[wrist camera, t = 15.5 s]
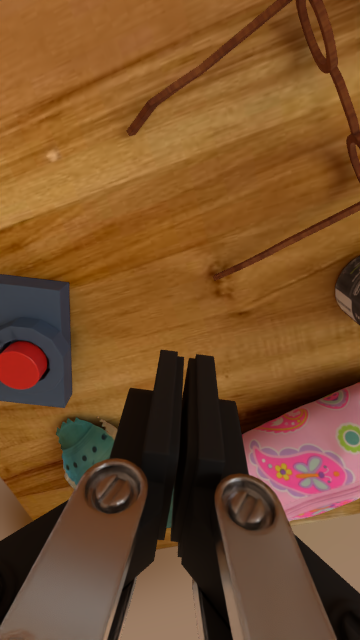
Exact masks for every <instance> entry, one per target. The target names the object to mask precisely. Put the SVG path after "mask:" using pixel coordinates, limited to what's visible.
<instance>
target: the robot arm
mask: <svg viewBox="0 0 360 640" xmlns="http://www.w3.org/2000/svg"><path fill="white" fill-rule="evenodd" d="M183 368H184V357H179V356H178V352H175V351H168V350H161V351H160V357H159V362H158V368H157V374H156V379H155V385H154V390H153V391H151V390H143V389H135V388H130V389H129V392H128V395H127V399H126V402H125V406H124V409H123V413H122V416H121V420H120V423H119V426H118V430H117V433H116V437H115V440H114V444H113V447H112V451H111V454H110V458H109V459H106V460H103V461H101V462H98V463H96V464H94V465H93V466H92V467H90V468H89V469H88V470H87V471H86V472H85V473H84V475H83V476H82V477H81V479H80V481H79V482H78V484H77V486H76V488H75V490H74V492H73V493H72V495H71V497H70V499H69V500H67V501H66V502H64V503H62V504H61V505H59V506H57V507H56V508H54V509H53V510H51V511H49V512H48V513H46V514H44V515H43V516H41V517H39V518H38V519H36V520H34V521H33V522H31V523H30V524H28V525H26V526H25V527H23V528H21V529H20V530H18V531H16V532H15V533H13V534H11V535H10V536H8V537H6V538H5V539H3V540H2V541H0V640H120V639H121V635H122V631H123V628H124V624H125V621H126V617H127V613H128V609H129V606H130V602H131V598H132V595H133V591H134V587H135V584H136V577H137V576H138V575H139V574H140V573H141V572H142V571H143V570H144V569H145V568H146V567H148V566H149V565H150V564H151V563H152V562H153V561H154V557H155V551H156V545H157V540H164V538H165V532H166V527H167V521H168V516H169V510H170V504H171V499H172V493H173V507H172V524H171V541H174V542H178V557H182V563H181V564H182V565H183V567H184V568H185V569H186V570H187V572H188V573H189V574H190V576H191V577H192V578H193V580H192V581H193V582H192V589H193V597H194V605H195V612H196V621H197V630H198V638H199V640H360V594H359V593H358V592H357V591H356V590H355V589H354V588H353V587H352V586H350V584H349V583H347V582H346V581H345V580H344V579H343V578H342V577H341V576H340V575H339V574H337V573H336V572H335V571H334V570H333V569H332V568H331V567H330V566H329V565H327V563H325V562H324V561H323V560H322V559H321V558H320V557H319V556H318V555H317V554H315V553H314V552H313V551H312V550H311V549H310V548H309V547H308V546H307V545H305V544H304V543H303V542H302V541H301V540H300V539H299V538H298V537H297V536H296V535H294V533H293V531H292V529H291V526H290V524H289V521H288V519H287V516H286V514H285V511H284V509H283V506H282V504H281V502H280V500H279V498H278V497H277V495H276V493H275V492H274V491H273V490H272V489H271V488H270V487H269V486H268V485H267V484H266V483H264V482H263V481H262V480H260V479H259V478H256V477H254V476H251V475H249V472H248V466H247V461H246V455H245V450H244V444H243V439H242V433H241V428H240V422H239V417H238V411H237V406H236V403H235V401H229V400H222V399H219V398H218V389H217V380H216V371H215V362H214V357H213V356H206V355H198V354H196V357H195V359H194V358H189V361H188V367H187V373H186V379H185V385H184V391H183V397H182V388H183ZM173 488H174V491H173Z"/></svg>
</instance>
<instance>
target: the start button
mask: <svg viewBox="0 0 360 640" xmlns="http://www.w3.org/2000/svg"><path fill="white" fill-rule="evenodd" d="M47 365H48V362H47V357H46V355H45V354H44V352H43V351H42V350H41V349H40V348H39V347H38V346H36V345H34V344H32V343H30V342H25V341H18V342H14V343H12V344H10V345H9V346H8V347H7V348H6V349H5V350H4V351H3V352H2V353H1V354H0V381H1V382H2V383H4V384H5V385H7V386H9V387H11V388H14V389H20V390H23V389H28V388H31V387H33V386H34V385H35V384H36V383H37V382H38V381H39V379H40V378H41V377H42V375H43V374H44V372H45V371H46V369H47Z"/></svg>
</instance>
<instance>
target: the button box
mask: <svg viewBox="0 0 360 640" xmlns="http://www.w3.org/2000/svg"><path fill="white" fill-rule="evenodd" d="M18 341H25V342H30V343H32V344H34V345H36V346H38V347H39V348H40V349H41V350H42V351H43V352H44V354H45V355H46V357H47V362H48V365H47V369H46V371H45V372H44V374H43V375H42V377H41V378H40V379H39V381H38V382H37V383H36V384H35V385H34V386H33V387H31V388H28V389H23V390H20V389H14V388H11V387H9V386H7V385H5V384H4V383H2V382H1V381H0V401H6V402H16V403H25V404H34V405H43V406H52V407H61V408H65V406H66V404H67V403H68V401H69V399H70V397H71V395H72V371H71V338H70V305H69V282H61V281H53V280H44V279H36V278H27V277H19V276H11V275H2V274H0V354H1V353H2V352H3V351H4V350H5V349H6V348H7V347H8V346H9V345H10V344H12V343H14V342H18Z"/></svg>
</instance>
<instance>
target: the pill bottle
mask: <svg viewBox="0 0 360 640" xmlns="http://www.w3.org/2000/svg"><path fill="white" fill-rule="evenodd" d="M335 296H336V300H337V303H338V305H339V306H340V308H341V309H342V310H343V311H344V312H345V313H346V314H347V315H348V316H350V317H351V318H352V319H353V320H354V321H355V322H357V323H358V324H359V325H360V256H359V257H357V258H355V259H354V260H352V261H351V262H350V263H349V264H348V265H347V266H346V267H345V268H344V269H343V271H342V272H341V274H340V276H339V278H338V280H337V283H336V286H335Z"/></svg>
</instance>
